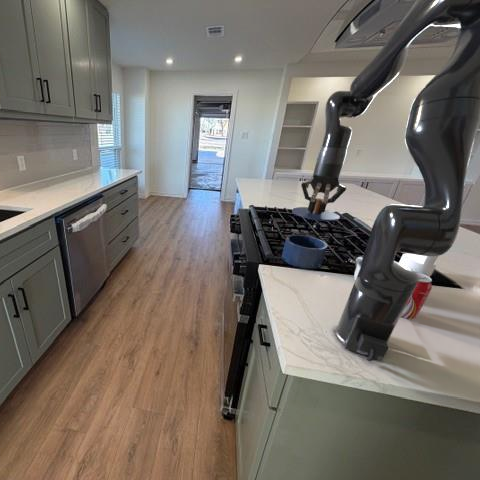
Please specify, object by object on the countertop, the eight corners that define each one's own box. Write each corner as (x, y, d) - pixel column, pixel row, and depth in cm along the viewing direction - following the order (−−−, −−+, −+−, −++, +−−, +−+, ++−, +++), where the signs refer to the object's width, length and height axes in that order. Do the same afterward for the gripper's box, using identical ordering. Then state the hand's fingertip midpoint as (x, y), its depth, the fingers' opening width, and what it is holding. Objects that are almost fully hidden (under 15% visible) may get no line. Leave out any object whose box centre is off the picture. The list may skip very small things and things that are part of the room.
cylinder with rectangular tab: (390, 266, 96) (403, 237, 91) (417, 269, 95) (432, 240, 90) (406, 278, 88) (421, 247, 83) (436, 282, 86) (453, 250, 82)
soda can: (376, 304, 74) (392, 268, 69) (400, 305, 74) (418, 269, 69) (396, 320, 68) (415, 282, 63) (422, 321, 67) (444, 283, 63)
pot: (321, 274, 89) (328, 252, 86) (279, 264, 95) (285, 243, 92) (319, 258, 100) (326, 239, 97) (282, 250, 106) (287, 232, 103)
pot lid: (340, 225, 81) (347, 207, 78) (290, 217, 87) (294, 200, 84) (336, 214, 92) (341, 197, 90) (292, 207, 99) (296, 192, 96)
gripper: (305, 161, 82) (293, 212, 89) (357, 164, 76) (339, 219, 83) (305, 159, 88) (293, 207, 95) (353, 162, 82) (337, 213, 89)
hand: (315, 212), depth 89 cm, fingers closed on pot lid, 2 cm apart
